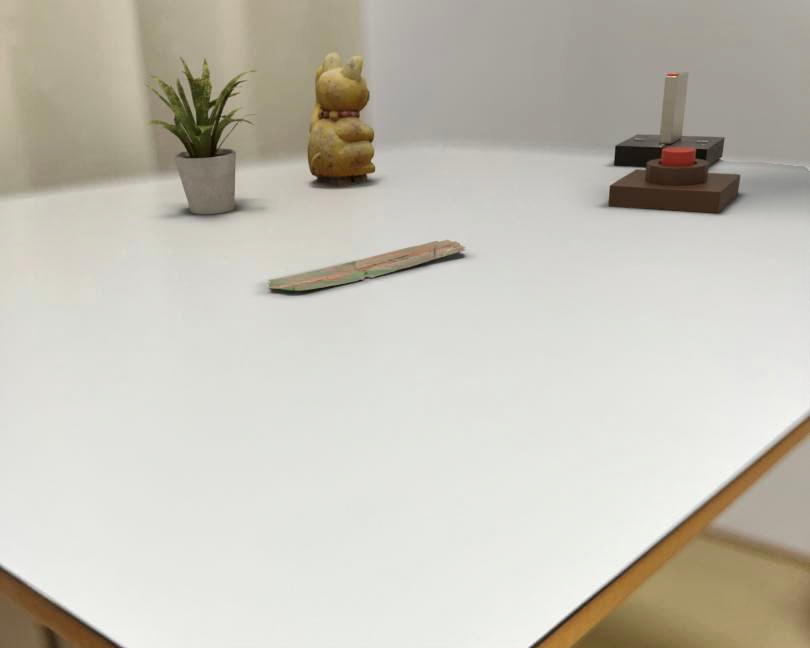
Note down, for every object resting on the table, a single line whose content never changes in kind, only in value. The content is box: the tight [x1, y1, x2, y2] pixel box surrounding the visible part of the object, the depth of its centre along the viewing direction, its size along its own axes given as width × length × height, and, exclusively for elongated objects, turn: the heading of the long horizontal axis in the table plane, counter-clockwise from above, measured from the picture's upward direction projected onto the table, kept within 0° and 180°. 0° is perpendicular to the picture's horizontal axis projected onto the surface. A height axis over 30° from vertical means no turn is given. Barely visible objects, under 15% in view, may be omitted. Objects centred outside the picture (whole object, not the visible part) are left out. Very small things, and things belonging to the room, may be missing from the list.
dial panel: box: [613, 133, 726, 168], centre depth 126 cm, size 12×10×3 cm
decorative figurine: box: [306, 51, 376, 187], centre depth 119 cm, size 10×8×15 cm
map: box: [267, 239, 466, 292], centre depth 85 cm, size 5×20×1 cm, turn 126°
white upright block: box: [659, 71, 690, 144], centre depth 123 cm, size 6×2×8 cm, turn 152°
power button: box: [661, 147, 696, 166], centre depth 103 cm, size 4×4×2 cm
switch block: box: [607, 159, 741, 214], centre depth 105 cm, size 12×10×4 cm
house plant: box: [144, 56, 256, 215], centre depth 106 cm, size 14×14×16 cm
